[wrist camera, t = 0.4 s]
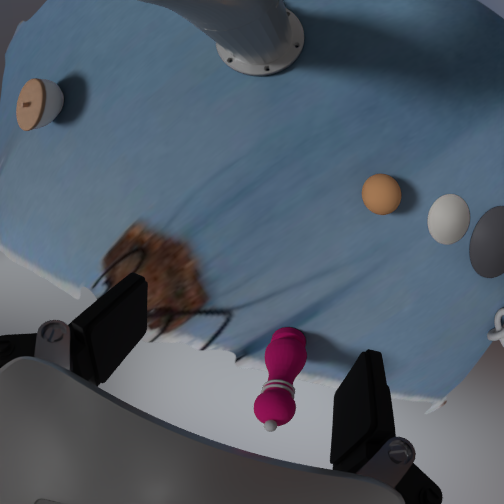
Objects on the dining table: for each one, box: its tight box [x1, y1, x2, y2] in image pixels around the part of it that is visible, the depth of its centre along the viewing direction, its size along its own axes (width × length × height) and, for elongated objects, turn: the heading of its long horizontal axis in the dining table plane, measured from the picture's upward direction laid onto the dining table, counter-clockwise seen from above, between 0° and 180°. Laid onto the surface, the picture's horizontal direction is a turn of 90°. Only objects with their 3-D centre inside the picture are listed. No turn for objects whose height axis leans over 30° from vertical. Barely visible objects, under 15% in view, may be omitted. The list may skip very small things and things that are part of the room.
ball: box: [362, 174, 401, 215], centre depth 34 cm, size 6×6×6 cm
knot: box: [487, 308, 504, 347], centre depth 36 cm, size 8×8×6 cm
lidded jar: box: [17, 79, 64, 131], centre depth 38 cm, size 11×11×9 cm
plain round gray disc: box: [428, 194, 470, 244], centre depth 35 cm, size 8×8×1 cm
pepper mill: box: [254, 327, 307, 432], centre depth 41 cm, size 7×7×20 cm
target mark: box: [470, 206, 504, 278], centre depth 34 cm, size 13×13×1 cm
